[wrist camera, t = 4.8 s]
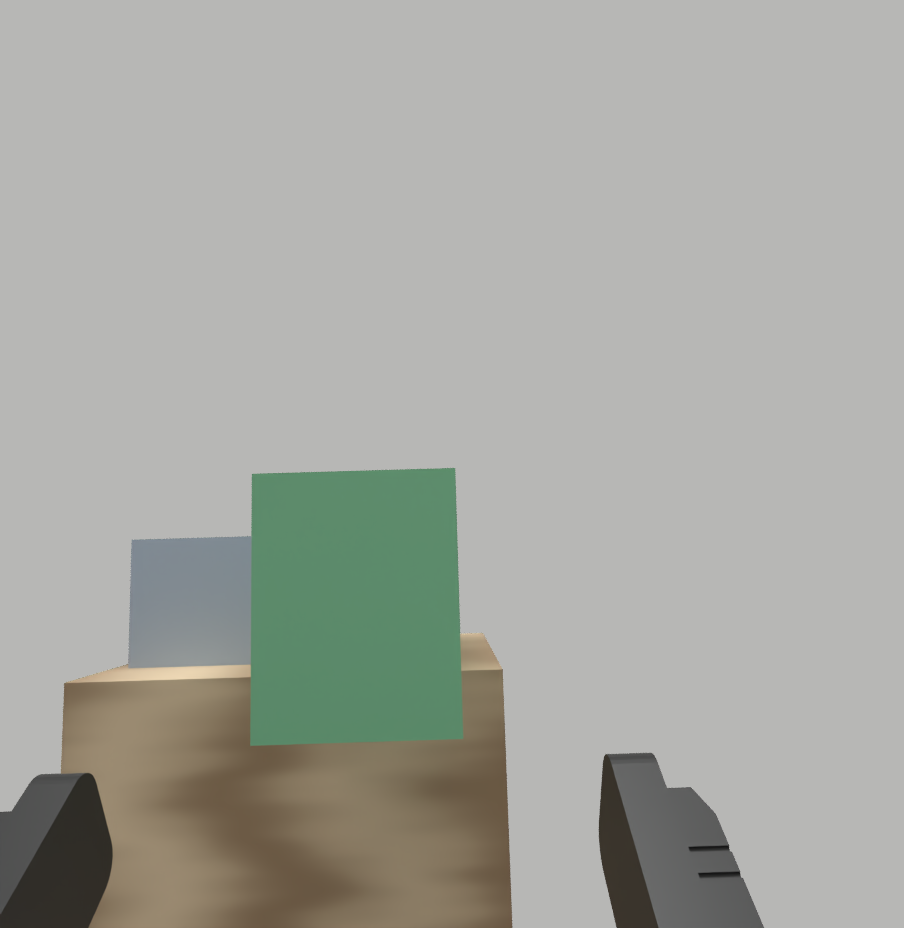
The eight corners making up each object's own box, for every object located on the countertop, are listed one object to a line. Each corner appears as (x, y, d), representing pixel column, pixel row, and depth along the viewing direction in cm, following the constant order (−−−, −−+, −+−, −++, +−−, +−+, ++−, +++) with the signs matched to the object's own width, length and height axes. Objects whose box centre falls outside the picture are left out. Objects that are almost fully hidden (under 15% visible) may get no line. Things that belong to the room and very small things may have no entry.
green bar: (250, 746, 13) (251, 473, 13) (371, 637, 32) (369, 530, 33) (463, 739, 13) (454, 468, 13) (453, 634, 32) (450, 528, 33)
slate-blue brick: (128, 668, 24) (131, 539, 24) (192, 648, 30) (193, 545, 30) (256, 664, 24) (257, 536, 24) (294, 645, 30) (294, 542, 30)
